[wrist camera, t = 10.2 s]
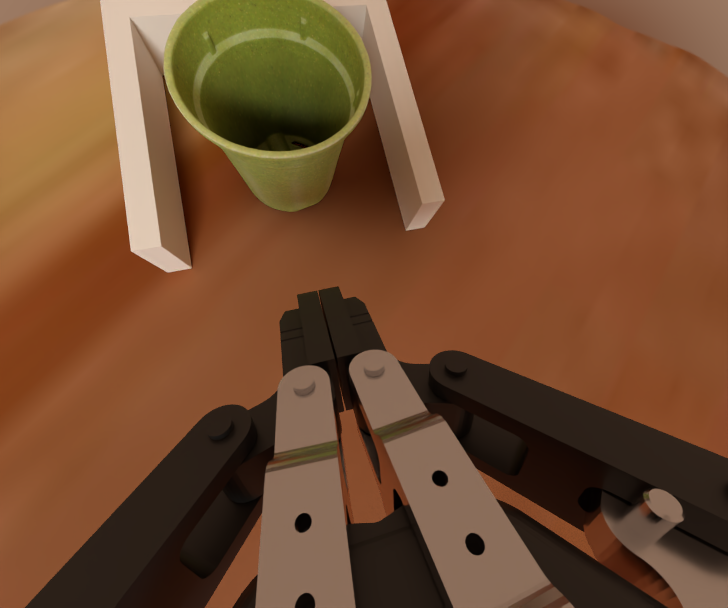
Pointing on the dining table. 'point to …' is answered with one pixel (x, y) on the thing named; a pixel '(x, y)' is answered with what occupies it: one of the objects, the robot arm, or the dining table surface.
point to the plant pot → (271, 89)
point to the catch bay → (154, 140)
